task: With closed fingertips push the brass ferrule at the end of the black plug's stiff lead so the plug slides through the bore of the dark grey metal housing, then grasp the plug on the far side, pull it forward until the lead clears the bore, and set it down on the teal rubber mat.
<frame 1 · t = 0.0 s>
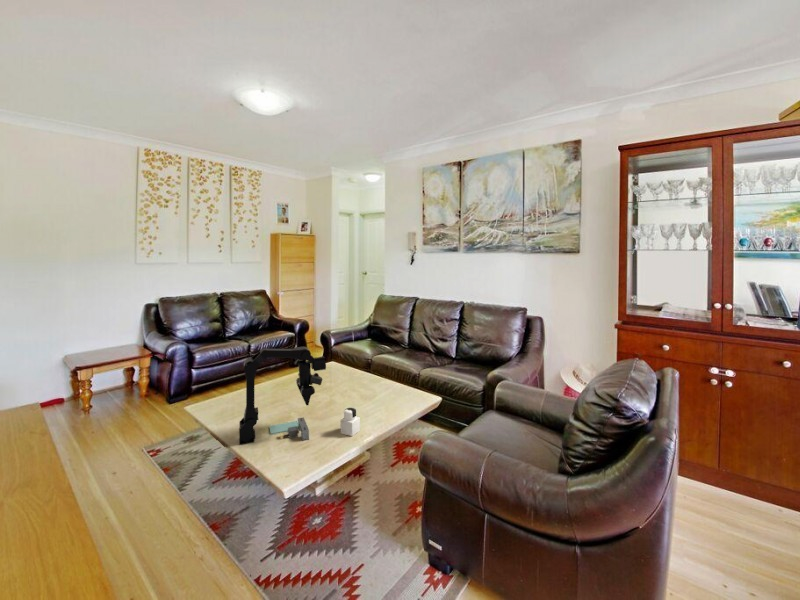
hand: (305, 401, 185), 15 cm above the table, fingers open, 9 cm apart
medicine bottle: (350, 432, 184), on the table
plug: (293, 435, 181), on the table
mat: (284, 427, 189), on the table
housing: (303, 433, 183), on the table
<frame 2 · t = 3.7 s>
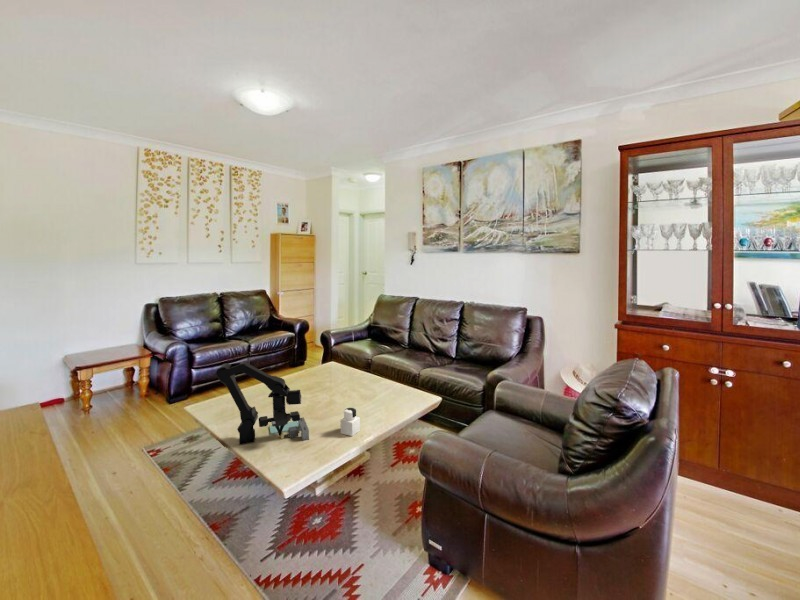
hand: (279, 435, 178), 1 cm above the table, fingers closed
plug: (293, 435, 181), on the table, touching gripper
everything else where it was.
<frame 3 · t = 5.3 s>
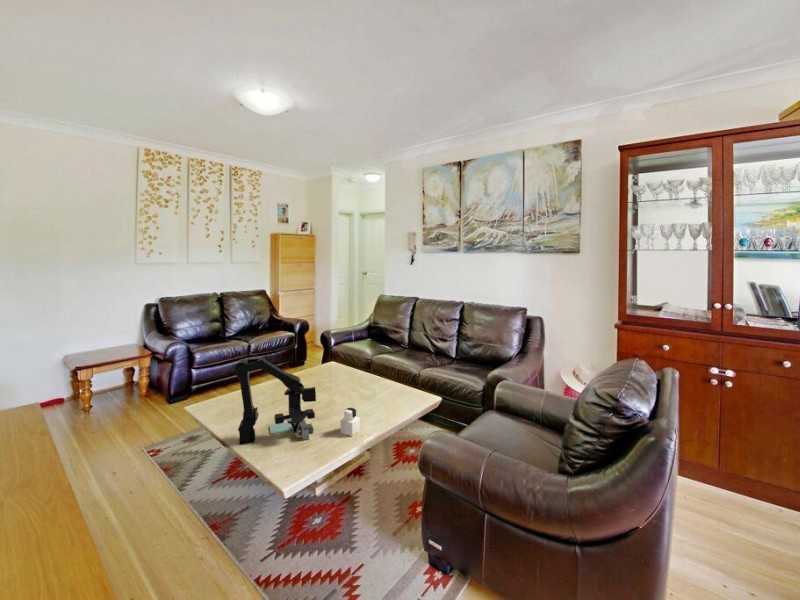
hand: (295, 432, 181), 1 cm above the table, fingers closed
plug: (308, 432, 184), on the table, touching gripper
everything else where it was.
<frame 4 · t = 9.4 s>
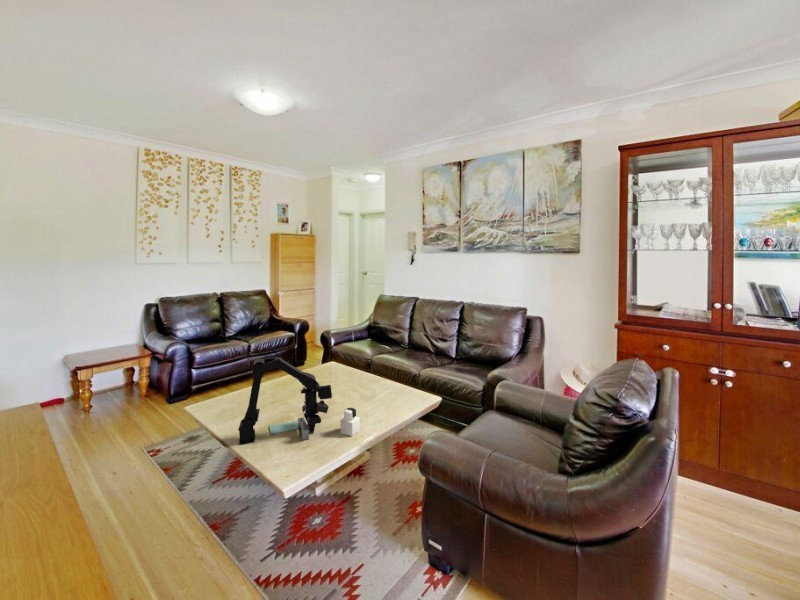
hand: (311, 429, 184), 1 cm above the table, fingers closed on plug, 4 cm apart
plug: (309, 432, 184), on the table, touching gripper
everything else where it was.
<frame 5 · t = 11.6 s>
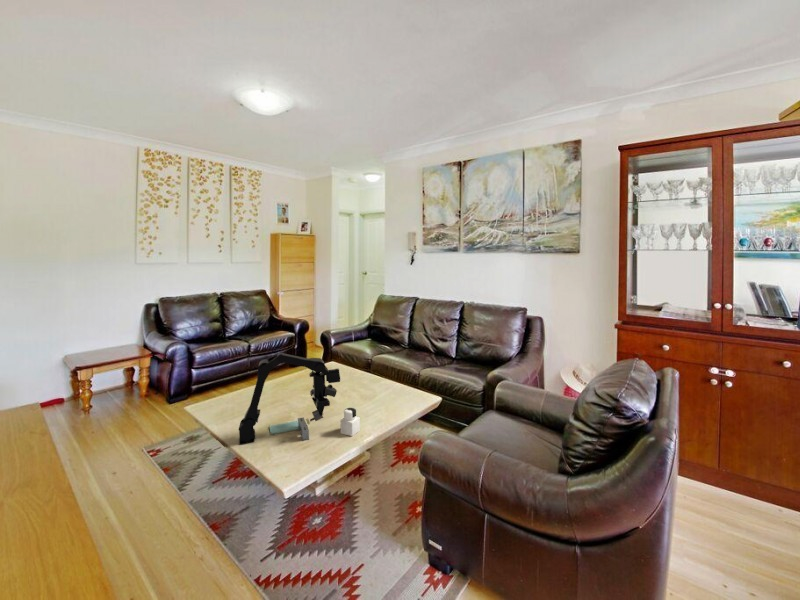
hand: (320, 413, 185), 9 cm above the table, fingers closed on plug, 4 cm apart
plug: (318, 417, 185), point 7 cm above the table, tilted 18°, touching gripper
everything else where it was.
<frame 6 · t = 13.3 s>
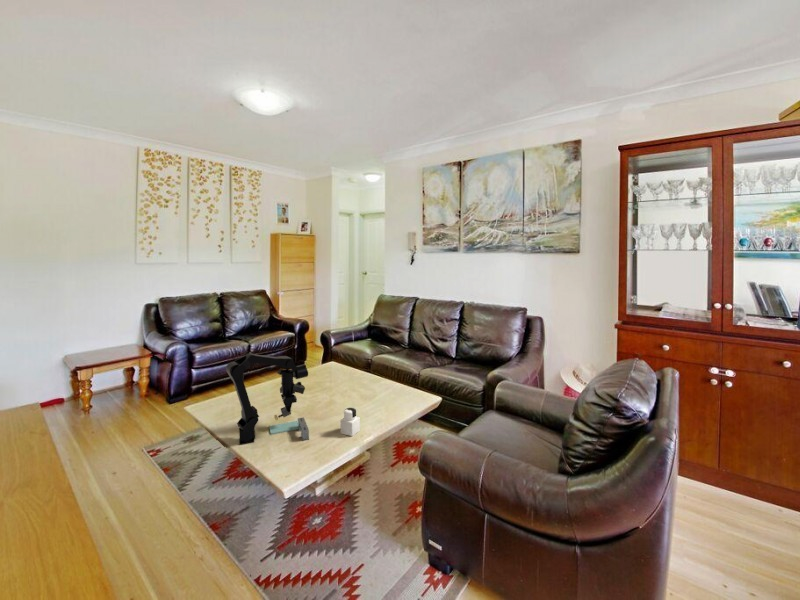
hand: (288, 410, 188), 9 cm above the table, fingers closed on plug, 4 cm apart
plug: (287, 414, 188), point 7 cm above the table, tilted 18°, touching gripper
everything else where it was.
when the fingers open (3 cm above the table, at t = 14.7 s): plug stays where it is, resting on mat.
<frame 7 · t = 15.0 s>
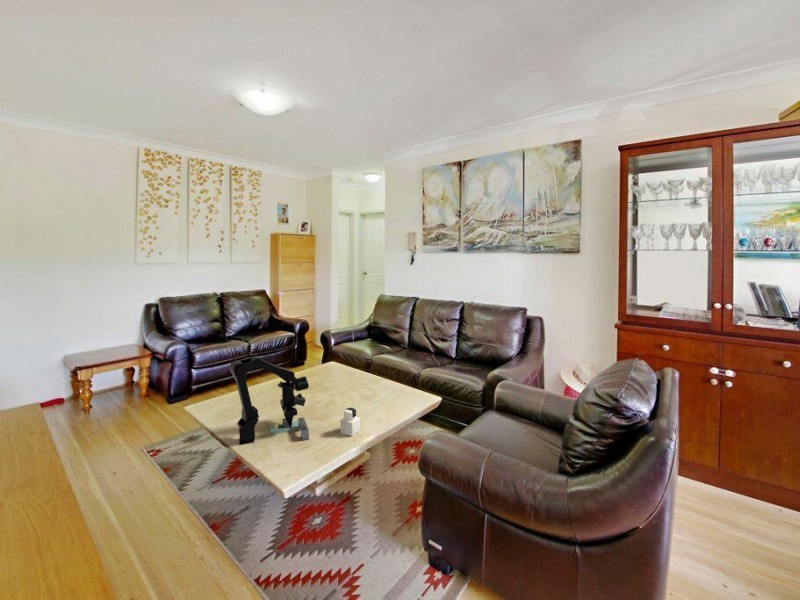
hand: (289, 422, 189), 3 cm above the table, fingers open, 7 cm apart
plug: (287, 426, 189), point 1 cm above the table, touching mat
everything else where it was.
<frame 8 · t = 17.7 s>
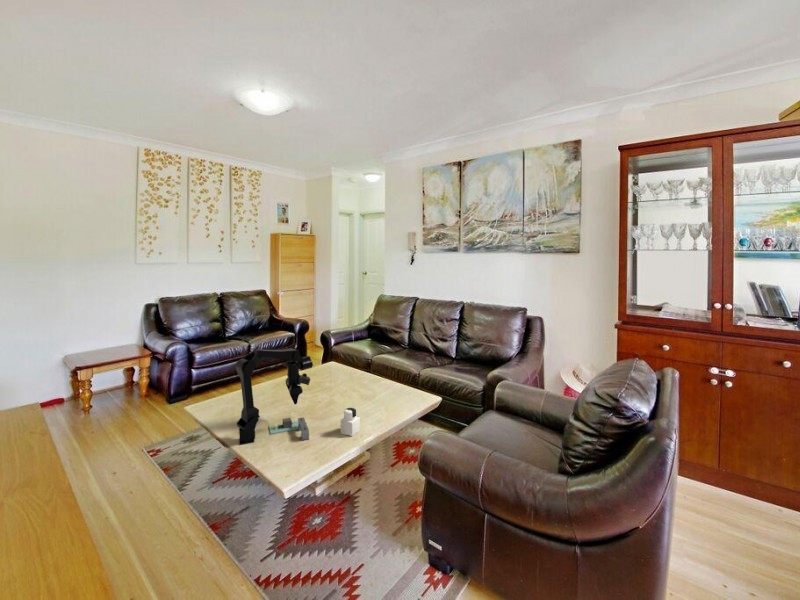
hand: (294, 401, 193), 12 cm above the table, fingers open, 9 cm apart
nothing on the table moved.
at the end: plug inside the target area on the mat (0.2 cm from its centre), point 0.6 cm above the mat's base; the gripper is holding nothing; plug moved 10.1 cm from its start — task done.
